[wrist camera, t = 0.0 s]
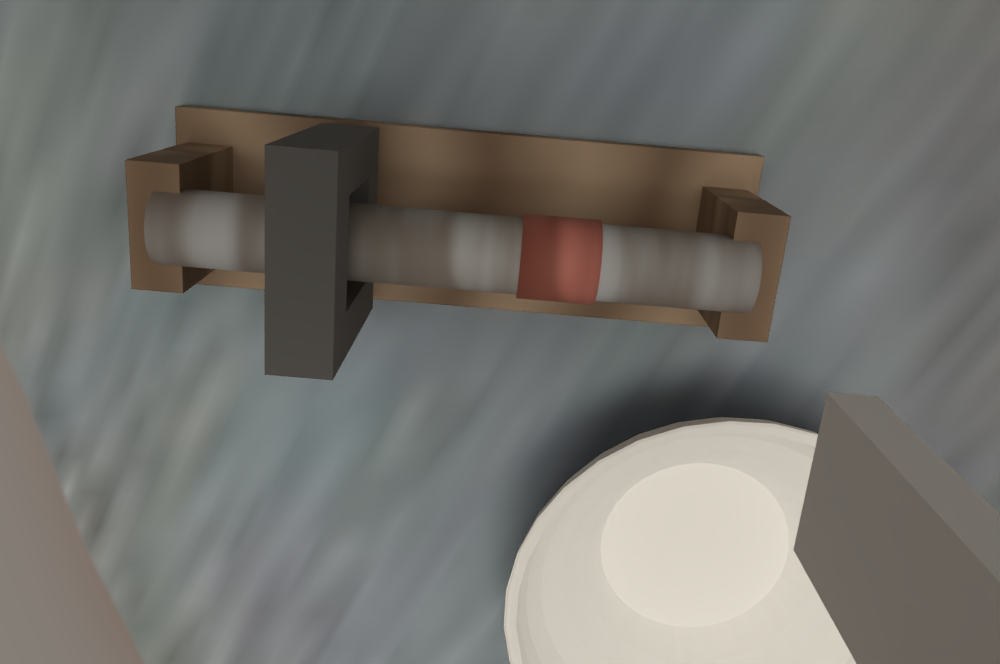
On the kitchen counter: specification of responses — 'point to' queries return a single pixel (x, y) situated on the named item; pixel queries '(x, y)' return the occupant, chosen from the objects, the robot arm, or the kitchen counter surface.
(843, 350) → the kitchen counter surface
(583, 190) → the pipe stand
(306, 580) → the kitchen counter surface
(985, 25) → the kitchen counter surface
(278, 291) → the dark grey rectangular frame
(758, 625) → the bowl
